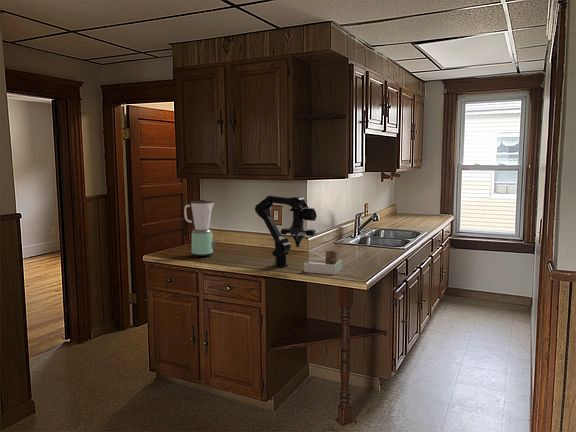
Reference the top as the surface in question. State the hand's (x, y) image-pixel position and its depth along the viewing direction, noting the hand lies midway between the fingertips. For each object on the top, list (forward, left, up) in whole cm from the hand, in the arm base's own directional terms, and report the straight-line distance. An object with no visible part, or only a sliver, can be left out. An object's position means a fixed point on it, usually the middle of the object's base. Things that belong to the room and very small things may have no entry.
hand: (297, 247), depth 269 cm
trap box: (+11, +9, -12) cm, 19 cm away
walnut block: (+14, +13, -9) cm, 21 cm away
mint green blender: (-63, -28, -12) cm, 70 cm away
